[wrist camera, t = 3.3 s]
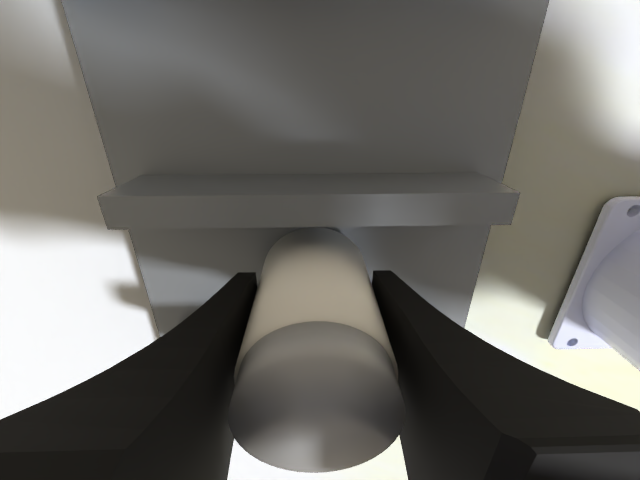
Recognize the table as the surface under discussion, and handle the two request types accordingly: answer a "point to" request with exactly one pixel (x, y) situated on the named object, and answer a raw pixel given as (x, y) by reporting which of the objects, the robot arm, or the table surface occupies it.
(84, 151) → the table surface
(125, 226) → the grey slotted rack
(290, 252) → the cream rounded cylinder
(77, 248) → the table surface
